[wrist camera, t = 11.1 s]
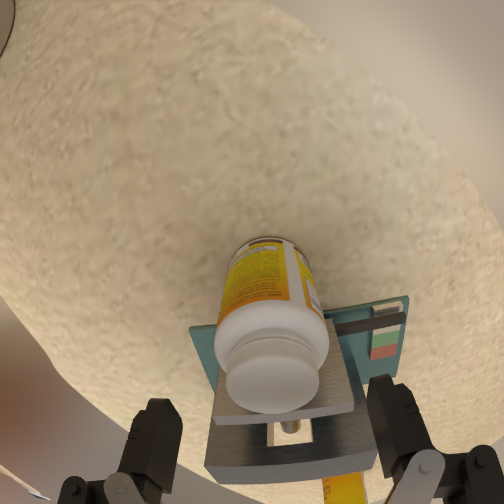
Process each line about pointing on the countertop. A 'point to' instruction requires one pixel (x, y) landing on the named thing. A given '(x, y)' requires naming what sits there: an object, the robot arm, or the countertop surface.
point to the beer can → (345, 489)
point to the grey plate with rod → (330, 383)
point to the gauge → (322, 428)
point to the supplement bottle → (271, 328)
